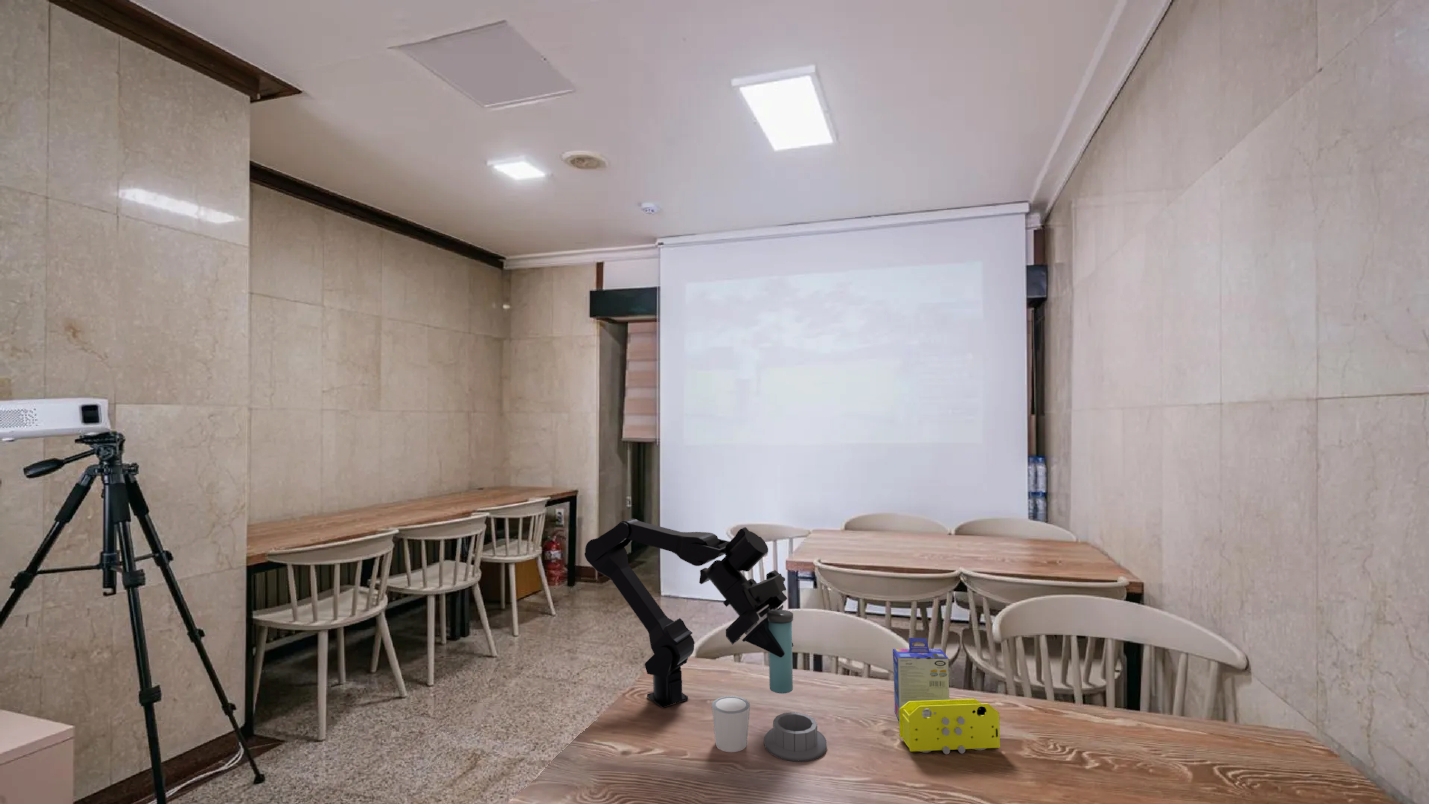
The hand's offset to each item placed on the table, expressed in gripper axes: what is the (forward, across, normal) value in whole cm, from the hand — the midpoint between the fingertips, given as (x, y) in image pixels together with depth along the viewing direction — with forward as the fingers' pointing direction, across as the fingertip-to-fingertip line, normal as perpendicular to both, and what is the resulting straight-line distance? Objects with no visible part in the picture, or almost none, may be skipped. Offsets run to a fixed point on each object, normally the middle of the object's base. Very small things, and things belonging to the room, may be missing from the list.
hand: (787, 651), depth 114 cm
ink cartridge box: (+26, +16, -5) cm, 30 cm away
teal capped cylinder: (+4, 0, +6) cm, 7 cm away
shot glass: (+5, -10, +15) cm, 19 cm away
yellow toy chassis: (+30, +6, -9) cm, 32 cm away
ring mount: (+12, -5, +8) cm, 15 cm away
